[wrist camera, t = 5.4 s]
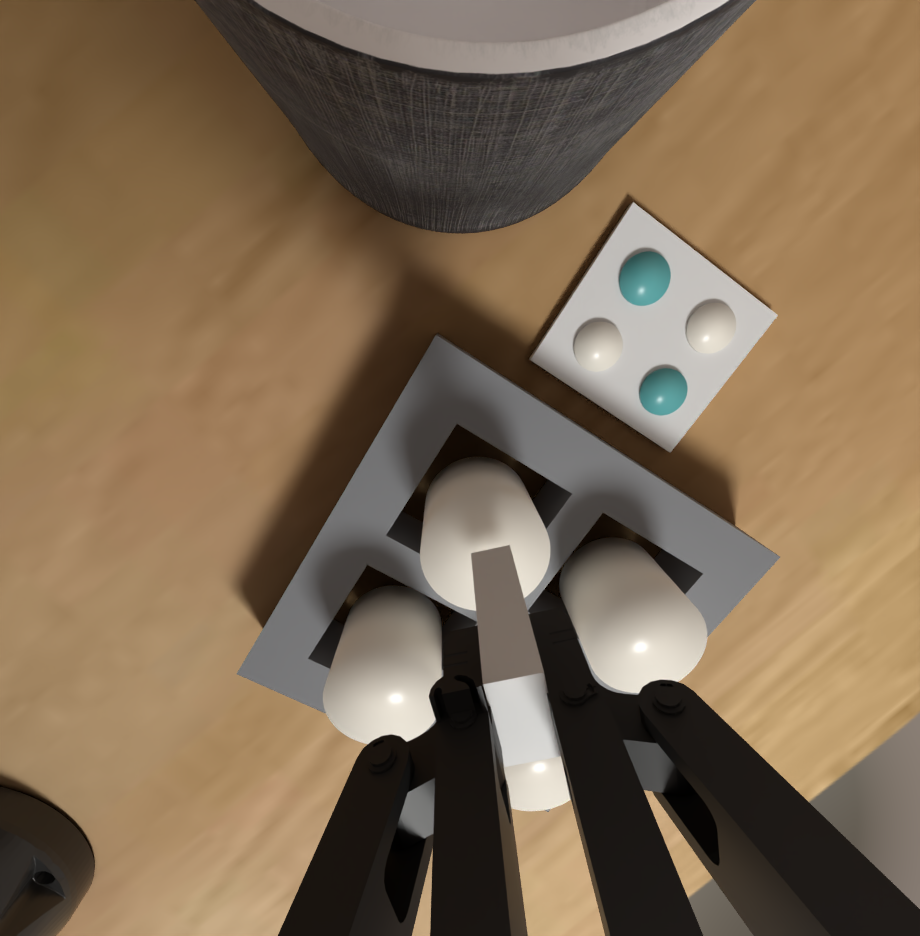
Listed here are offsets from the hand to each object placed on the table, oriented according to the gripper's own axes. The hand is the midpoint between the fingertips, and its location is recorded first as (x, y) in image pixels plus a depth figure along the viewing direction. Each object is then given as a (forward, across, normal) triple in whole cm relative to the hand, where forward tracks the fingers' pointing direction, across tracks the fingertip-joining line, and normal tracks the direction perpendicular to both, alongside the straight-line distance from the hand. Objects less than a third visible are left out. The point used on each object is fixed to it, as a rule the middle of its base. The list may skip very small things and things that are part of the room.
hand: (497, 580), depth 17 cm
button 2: (+8, 0, 0) cm, 8 cm away
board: (+11, 0, -6) cm, 12 cm away
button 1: (+8, -7, -6) cm, 12 cm away
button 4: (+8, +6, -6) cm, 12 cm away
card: (+11, +11, +6) cm, 17 cm away
